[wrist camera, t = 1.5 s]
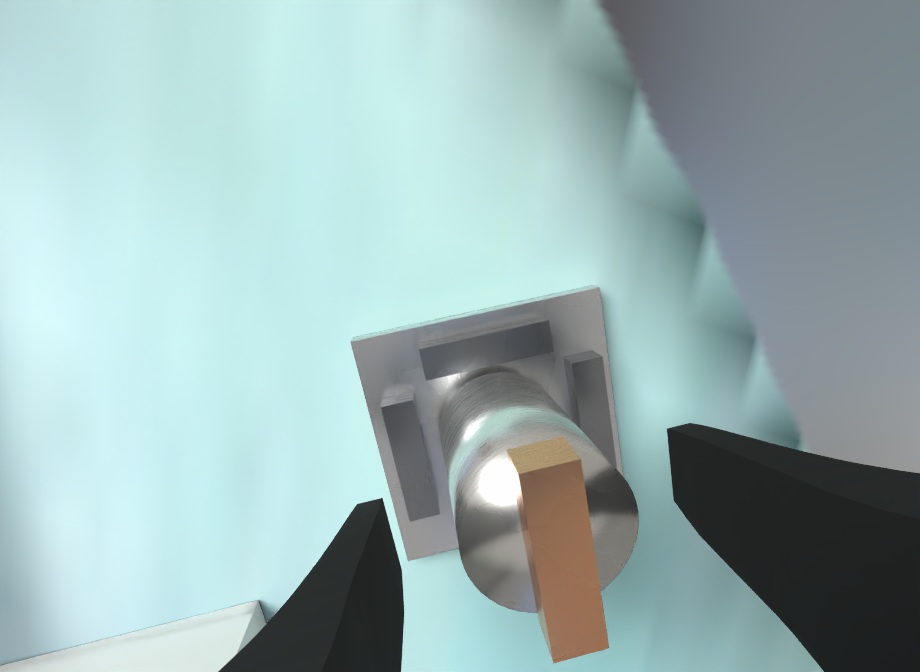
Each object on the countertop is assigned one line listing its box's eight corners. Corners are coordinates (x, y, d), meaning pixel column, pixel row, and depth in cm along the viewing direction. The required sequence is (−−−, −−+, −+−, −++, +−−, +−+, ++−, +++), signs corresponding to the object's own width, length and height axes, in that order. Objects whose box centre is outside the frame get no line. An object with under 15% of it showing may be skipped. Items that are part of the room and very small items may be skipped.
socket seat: (619, 496, 17) (637, 518, 16) (407, 549, 17) (408, 577, 15) (591, 285, 15) (610, 290, 14) (352, 337, 15) (347, 347, 13)
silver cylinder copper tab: (566, 474, 16) (672, 630, 10) (454, 501, 16) (487, 681, 9) (547, 354, 15) (652, 441, 9) (426, 381, 15) (444, 492, 8)
